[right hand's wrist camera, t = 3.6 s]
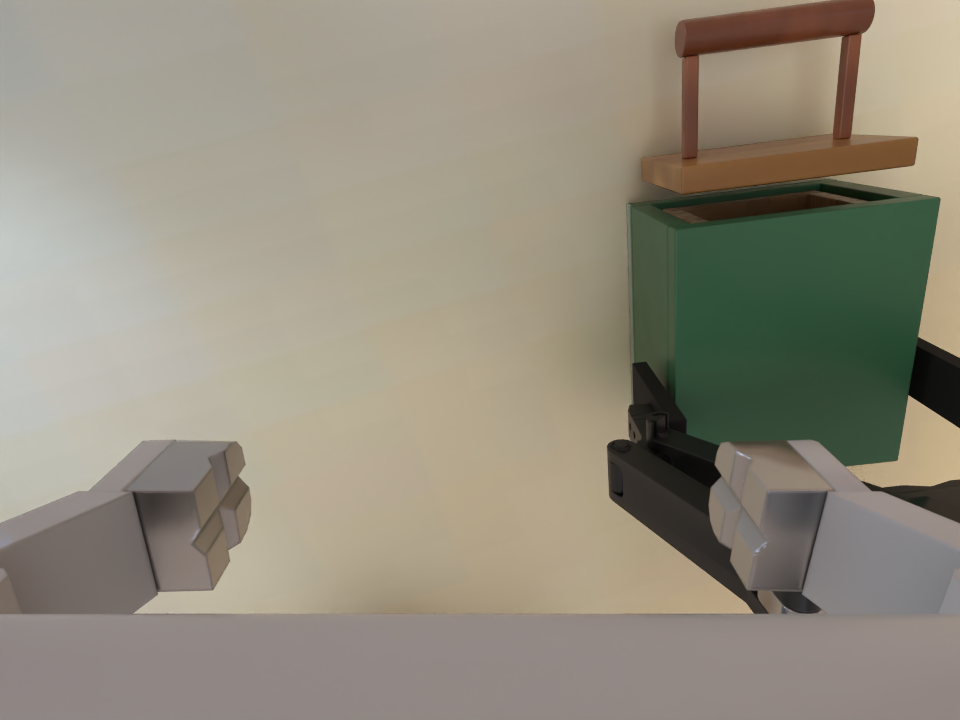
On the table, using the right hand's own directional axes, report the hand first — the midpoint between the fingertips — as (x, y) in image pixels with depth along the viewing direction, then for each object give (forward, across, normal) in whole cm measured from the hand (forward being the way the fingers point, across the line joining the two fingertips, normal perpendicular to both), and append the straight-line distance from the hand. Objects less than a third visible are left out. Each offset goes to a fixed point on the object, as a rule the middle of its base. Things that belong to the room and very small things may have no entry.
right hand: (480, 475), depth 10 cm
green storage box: (+26, +15, -4) cm, 30 cm away
